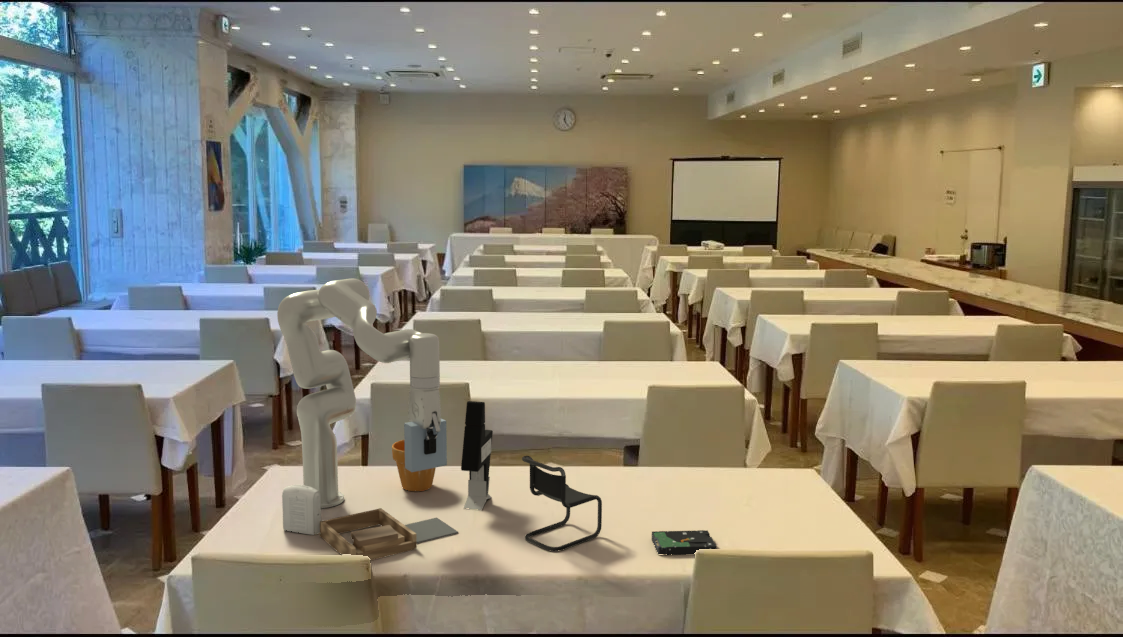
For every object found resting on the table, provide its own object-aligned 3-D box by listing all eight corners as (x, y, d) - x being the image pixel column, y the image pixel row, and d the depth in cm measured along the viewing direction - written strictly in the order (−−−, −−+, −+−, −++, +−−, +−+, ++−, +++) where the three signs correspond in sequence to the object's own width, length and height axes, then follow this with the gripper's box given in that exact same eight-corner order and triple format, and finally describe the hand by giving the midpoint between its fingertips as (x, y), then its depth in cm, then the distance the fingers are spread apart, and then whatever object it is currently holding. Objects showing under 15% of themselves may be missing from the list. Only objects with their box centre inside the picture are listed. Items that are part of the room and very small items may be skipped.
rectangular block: (405, 468, 240) (404, 422, 238) (439, 461, 246) (439, 417, 244) (411, 472, 237) (411, 426, 235) (446, 465, 242) (446, 420, 240)
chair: (519, 538, 239) (519, 456, 236) (567, 521, 251) (568, 443, 248) (553, 554, 230) (554, 469, 227) (602, 536, 242) (603, 454, 238)
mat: (396, 528, 245) (396, 526, 245) (436, 518, 252) (436, 517, 252) (416, 543, 236) (416, 542, 236) (458, 533, 243) (458, 531, 242)
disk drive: (707, 540, 241) (650, 540, 240) (707, 529, 241) (651, 530, 240) (717, 556, 231) (658, 557, 230) (717, 545, 231) (658, 546, 230)
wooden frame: (320, 536, 240) (319, 521, 239) (381, 522, 249) (381, 508, 249) (352, 565, 223) (351, 549, 222) (416, 548, 232) (416, 533, 232)
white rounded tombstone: (324, 530, 244) (322, 485, 242) (315, 536, 240) (313, 490, 238) (290, 525, 247) (288, 480, 245) (280, 531, 243) (278, 486, 241)
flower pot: (394, 479, 283) (393, 438, 281) (441, 478, 285) (440, 437, 283) (391, 495, 269) (390, 452, 267) (440, 494, 271) (440, 451, 269)
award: (478, 513, 256) (478, 408, 251) (460, 512, 257) (459, 406, 252) (493, 495, 271) (493, 394, 266) (476, 493, 272) (475, 393, 267)
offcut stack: (347, 549, 231) (347, 532, 231) (393, 539, 238) (392, 522, 238) (359, 560, 225) (359, 542, 225) (406, 548, 232) (405, 531, 232)
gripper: (397, 377, 242) (398, 445, 245) (426, 390, 229) (427, 462, 232) (423, 374, 246) (424, 440, 249) (453, 386, 233) (454, 457, 236)
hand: (425, 450), depth 240 cm, fingers closed on rectangular block, 4 cm apart
